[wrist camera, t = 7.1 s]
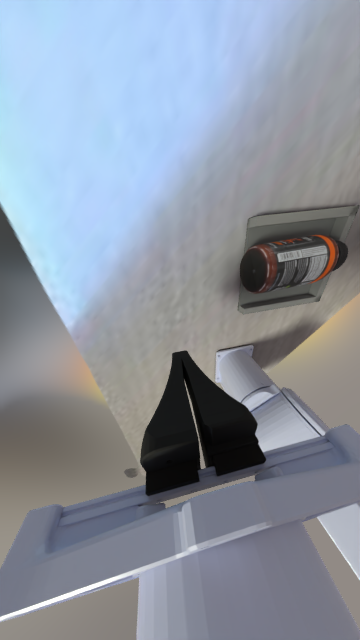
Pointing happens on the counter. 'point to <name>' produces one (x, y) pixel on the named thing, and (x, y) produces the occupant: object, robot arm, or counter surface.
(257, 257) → the supplement bottle
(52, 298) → the counter surface
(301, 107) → the counter surface
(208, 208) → the counter surface
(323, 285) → the tray
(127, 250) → the counter surface
